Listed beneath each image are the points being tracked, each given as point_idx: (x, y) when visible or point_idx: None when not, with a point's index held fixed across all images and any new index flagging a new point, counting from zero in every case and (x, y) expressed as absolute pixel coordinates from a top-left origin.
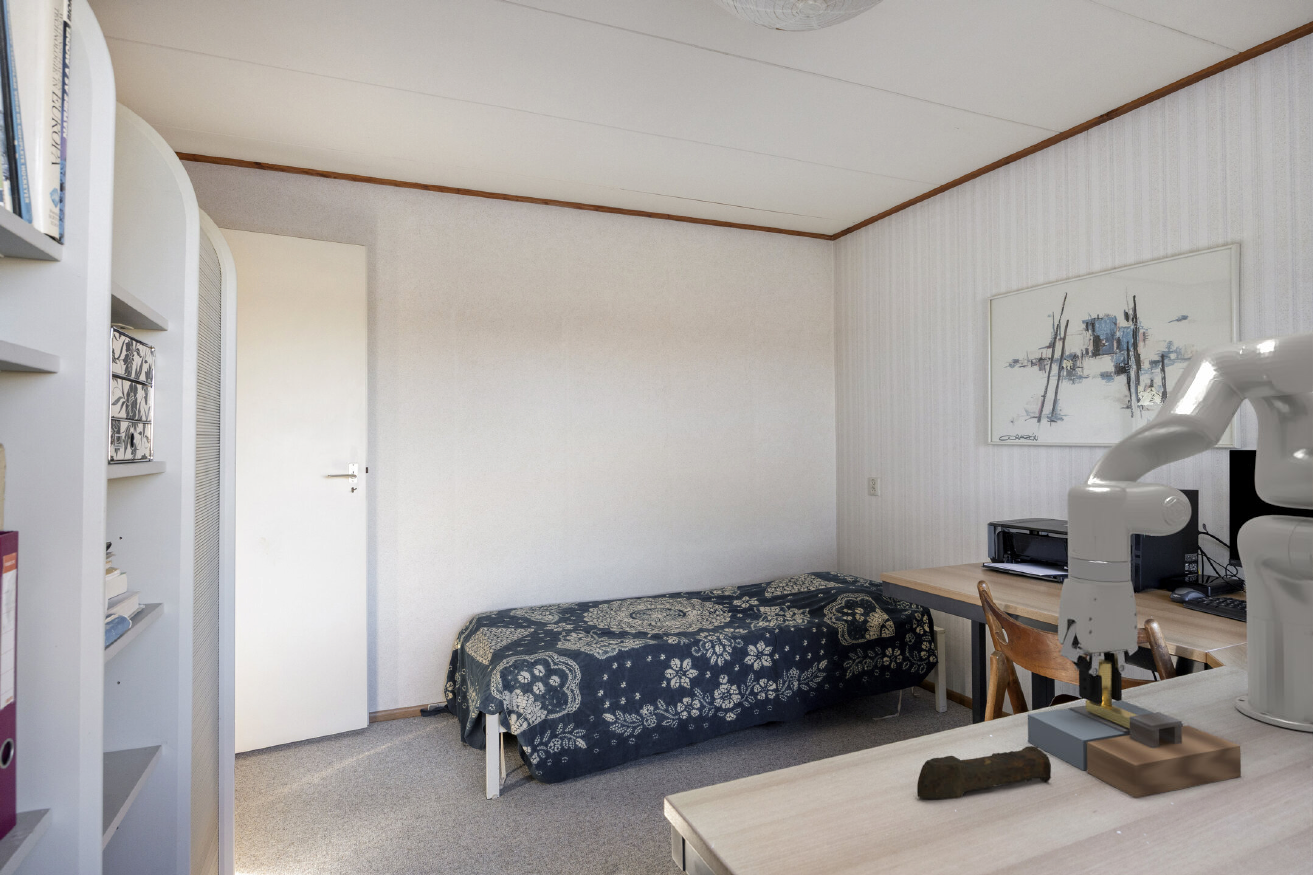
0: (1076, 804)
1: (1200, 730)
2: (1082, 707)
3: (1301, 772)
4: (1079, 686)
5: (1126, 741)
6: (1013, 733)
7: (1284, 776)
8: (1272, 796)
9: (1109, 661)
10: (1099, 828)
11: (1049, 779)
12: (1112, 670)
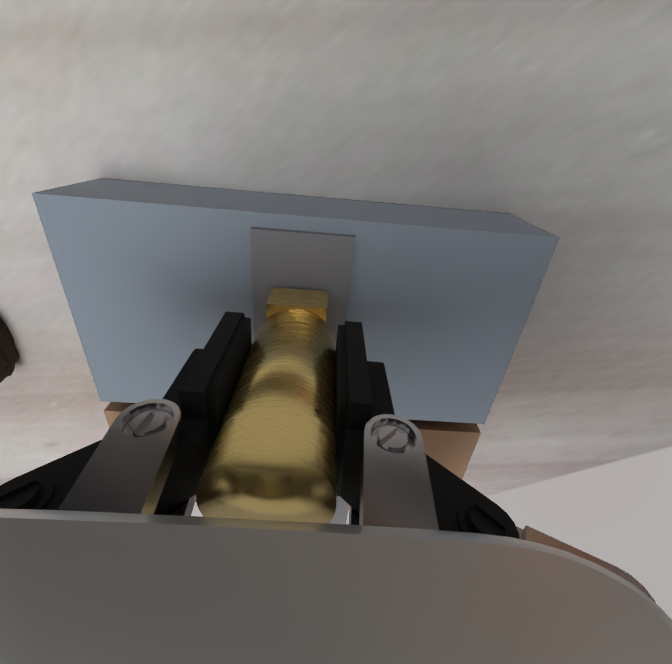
0: (30, 424)
1: (469, 456)
2: (304, 247)
3: (547, 478)
4: (215, 332)
5: None
6: (90, 96)
7: (501, 477)
8: None
9: (330, 518)
10: (25, 471)
11: (14, 367)
12: (339, 476)
